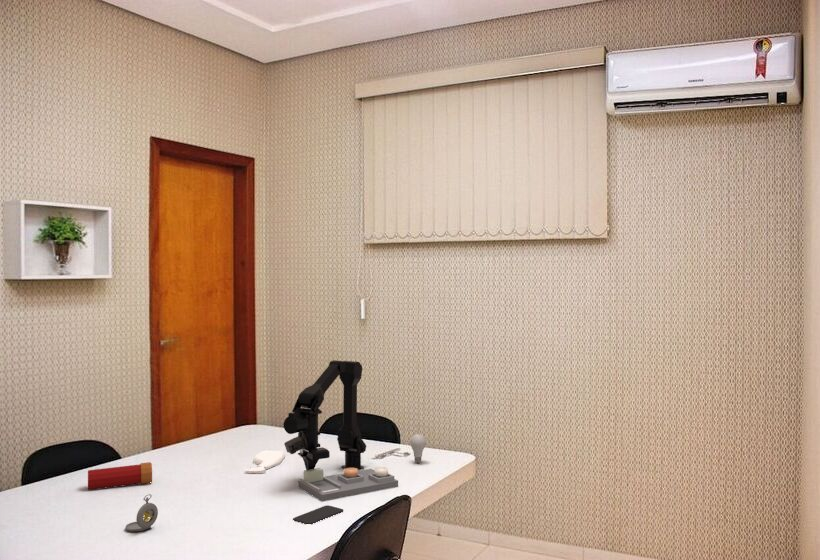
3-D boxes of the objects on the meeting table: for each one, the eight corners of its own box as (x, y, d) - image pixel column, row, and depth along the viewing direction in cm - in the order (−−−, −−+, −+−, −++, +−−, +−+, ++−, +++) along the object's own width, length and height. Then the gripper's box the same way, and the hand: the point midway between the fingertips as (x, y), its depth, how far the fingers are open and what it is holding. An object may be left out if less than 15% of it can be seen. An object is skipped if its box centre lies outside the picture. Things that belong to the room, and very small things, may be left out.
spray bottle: (287, 458, 266) (270, 476, 242) (260, 457, 267) (240, 475, 242) (287, 450, 266) (270, 468, 242) (260, 449, 267) (240, 467, 242)
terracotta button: (341, 474, 228) (341, 468, 228) (353, 472, 230) (353, 466, 230) (348, 478, 224) (348, 472, 224) (360, 475, 226) (360, 469, 226)
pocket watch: (130, 524, 190) (130, 489, 190) (160, 523, 191) (160, 488, 191) (120, 535, 182) (120, 498, 182) (152, 534, 183) (152, 497, 183)
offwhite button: (372, 474, 229) (372, 468, 229) (383, 472, 231) (383, 466, 231) (379, 477, 225) (379, 471, 225) (390, 475, 227) (390, 469, 227)
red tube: (152, 485, 228) (152, 465, 228) (87, 492, 220) (87, 470, 220) (151, 480, 235) (151, 460, 235) (88, 486, 226) (88, 465, 227)
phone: (291, 518, 194) (327, 504, 206) (291, 521, 194) (327, 507, 206) (309, 524, 190) (345, 509, 202) (309, 527, 190) (345, 512, 202)
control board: (298, 487, 226) (298, 476, 226) (370, 474, 242) (370, 464, 242) (322, 501, 211) (322, 490, 211) (398, 486, 227) (398, 476, 227)
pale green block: (303, 481, 225) (303, 470, 225) (319, 478, 228) (319, 467, 229) (306, 483, 223) (306, 472, 223) (323, 480, 227) (323, 469, 227)
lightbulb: (424, 465, 254) (424, 436, 254) (408, 464, 255) (408, 435, 255) (427, 461, 260) (427, 433, 260) (411, 460, 261) (411, 432, 261)
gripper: (276, 426, 232) (276, 472, 231) (299, 436, 216) (299, 485, 216) (306, 423, 238) (305, 467, 238) (330, 432, 222) (330, 479, 222)
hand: (309, 474), depth 228 cm, fingers closed
